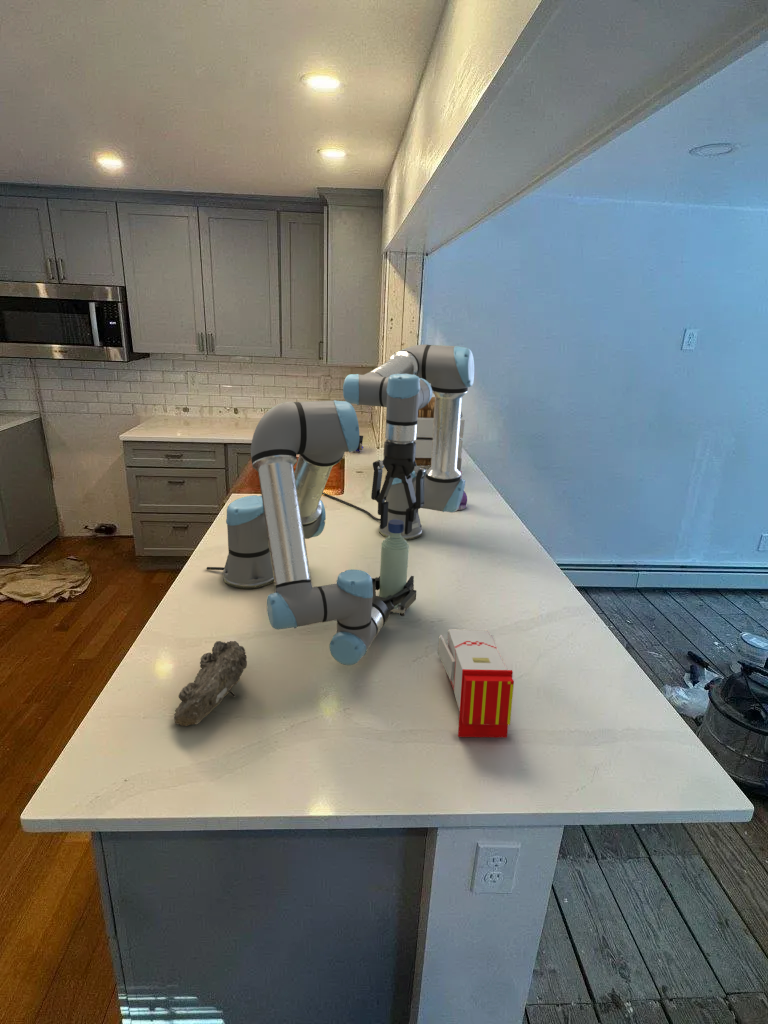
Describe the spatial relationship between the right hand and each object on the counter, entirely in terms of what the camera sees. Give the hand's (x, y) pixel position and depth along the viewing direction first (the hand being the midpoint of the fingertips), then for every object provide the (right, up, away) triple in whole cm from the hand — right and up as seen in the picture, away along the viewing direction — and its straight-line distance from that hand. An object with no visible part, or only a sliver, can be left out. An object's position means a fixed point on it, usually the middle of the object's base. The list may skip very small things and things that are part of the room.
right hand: (395, 529), depth 144 cm
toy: (+15, -33, -25) cm, 44 cm away
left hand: (+1, -13, +10) cm, 17 cm away
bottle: (-1, -21, +7) cm, 22 cm away
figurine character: (-18, +38, +168) cm, 173 cm away
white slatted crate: (+14, +23, +131) cm, 134 cm away
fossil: (-37, -32, -30) cm, 57 cm away
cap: (0, +2, -1) cm, 2 cm away
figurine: (+26, +6, +85) cm, 90 cm away
